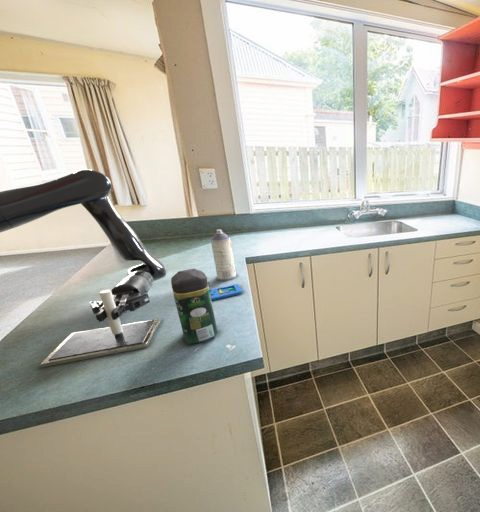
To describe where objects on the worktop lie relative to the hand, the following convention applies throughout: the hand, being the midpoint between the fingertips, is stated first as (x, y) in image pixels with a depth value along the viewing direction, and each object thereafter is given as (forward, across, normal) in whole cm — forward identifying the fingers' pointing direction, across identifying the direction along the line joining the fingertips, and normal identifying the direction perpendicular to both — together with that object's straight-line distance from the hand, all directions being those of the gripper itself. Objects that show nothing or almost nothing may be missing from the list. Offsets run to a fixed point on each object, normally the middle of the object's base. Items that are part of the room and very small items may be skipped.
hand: (106, 317), depth 74 cm
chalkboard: (-3, -2, +8) cm, 9 cm away
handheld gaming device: (-24, +22, +8) cm, 33 cm away
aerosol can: (-41, +23, +8) cm, 48 cm away
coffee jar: (+3, +20, +8) cm, 22 cm away
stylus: (-3, 0, +7) cm, 8 cm away
